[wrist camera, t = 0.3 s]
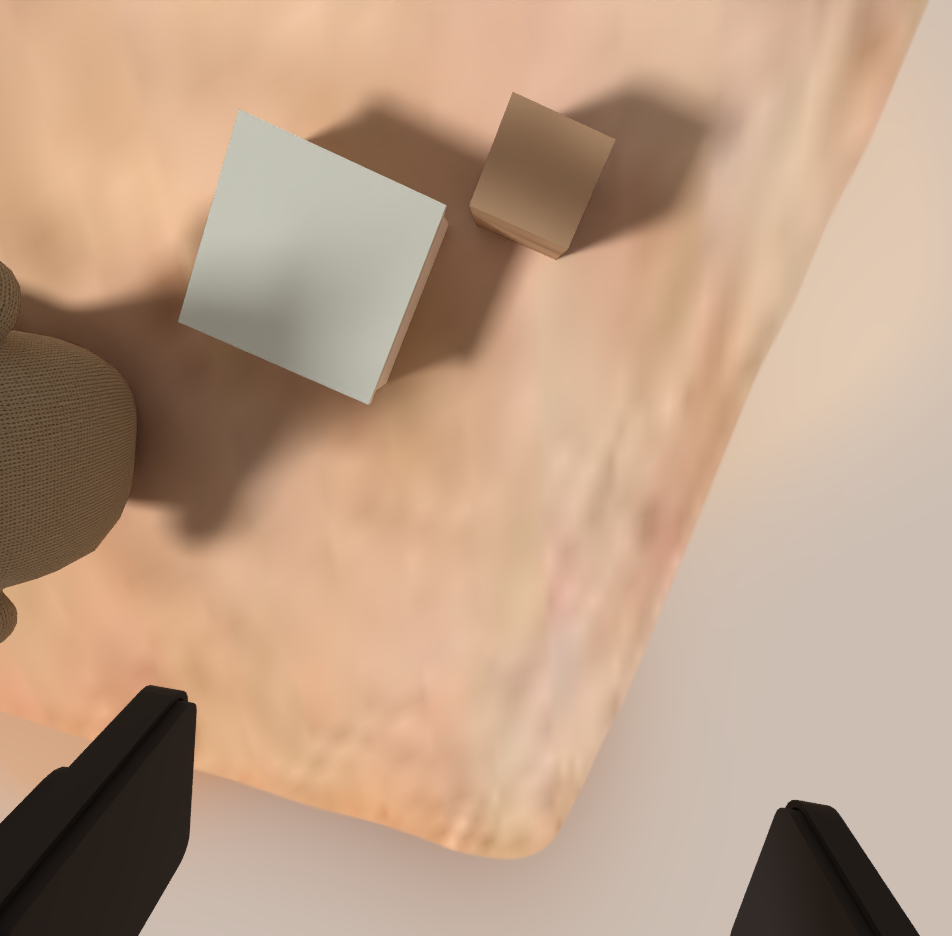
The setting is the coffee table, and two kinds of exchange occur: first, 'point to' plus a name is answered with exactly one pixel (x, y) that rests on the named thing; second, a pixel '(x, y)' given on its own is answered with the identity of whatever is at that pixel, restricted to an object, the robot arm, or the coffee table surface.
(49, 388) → the grey cat statue
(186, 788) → the robot arm
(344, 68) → the coffee table surface
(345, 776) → the coffee table surface
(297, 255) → the pale grey box
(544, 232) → the walnut block
